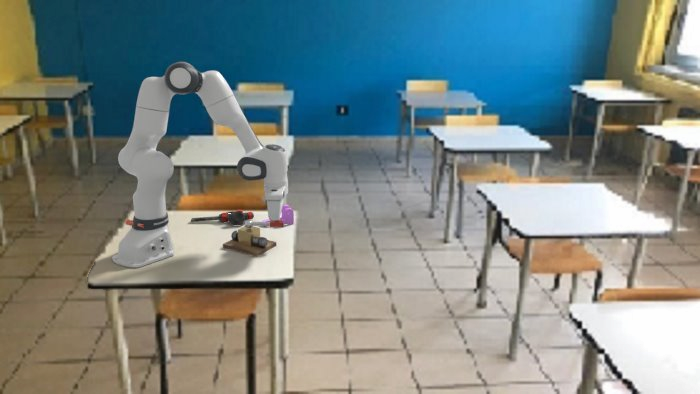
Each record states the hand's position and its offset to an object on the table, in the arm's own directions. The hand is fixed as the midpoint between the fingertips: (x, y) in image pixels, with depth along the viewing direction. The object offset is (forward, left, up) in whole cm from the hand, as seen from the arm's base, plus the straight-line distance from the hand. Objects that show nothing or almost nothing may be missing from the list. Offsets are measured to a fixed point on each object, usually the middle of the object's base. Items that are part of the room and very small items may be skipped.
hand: (277, 223), depth 229 cm
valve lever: (-4, +3, 0) cm, 5 cm away
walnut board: (-8, +7, -9) cm, 14 cm away
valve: (+9, +35, -9) cm, 38 cm away
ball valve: (-8, +7, -7) cm, 13 cm away
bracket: (+18, +13, -9) cm, 24 cm away
